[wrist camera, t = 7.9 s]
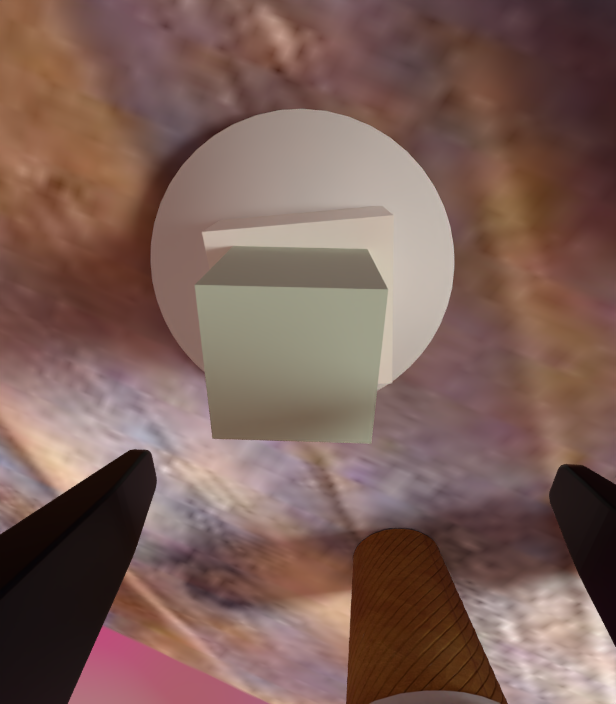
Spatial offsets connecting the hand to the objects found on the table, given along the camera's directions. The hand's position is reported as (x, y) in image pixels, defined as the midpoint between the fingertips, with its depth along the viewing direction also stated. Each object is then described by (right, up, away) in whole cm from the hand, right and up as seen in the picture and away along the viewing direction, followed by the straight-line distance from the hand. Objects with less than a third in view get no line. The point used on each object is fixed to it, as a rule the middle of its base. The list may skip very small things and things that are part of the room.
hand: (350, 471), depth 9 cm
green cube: (-1, +4, +7) cm, 8 cm away
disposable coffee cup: (+6, -12, +20) cm, 24 cm away
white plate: (-1, +7, +11) cm, 13 cm away
